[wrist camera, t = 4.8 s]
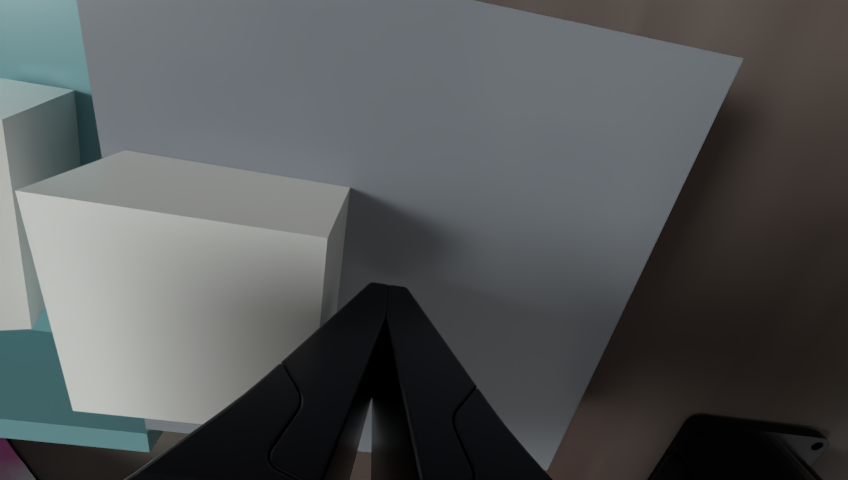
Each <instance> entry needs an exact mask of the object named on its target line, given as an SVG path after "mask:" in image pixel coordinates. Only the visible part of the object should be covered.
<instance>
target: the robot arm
mask: <svg viewBox="0 0 848 480" xmlns="http://www.w3.org/2000/svg"><path fill="white" fill-rule="evenodd" d="M476 388H477V386H476V384H475V383H474V382H473V380H472V379H471V377H470V376H469V375H468V373H467V372H466V370H465V369H464V367H463V366H462V365H461V363H460V362H459V360H458V359H457V358H456V356H455V355H454V353H453V352H452V350H451V349H450V348H449V346H448V345H447V343H446V342H445V341H444V339H443V338H442V336H441V335H440V334H439V332H438V331H437V329H436V328H435V326H434V325H433V324H432V322H431V321H430V319H429V318H428V317H427V315H426V314H425V312H424V311H423V309H422V308H421V307H420V305H419V304H418V302H417V301H416V300H415V298H414V297H413V295H412V294H411V292H410V291H409V290H408V288H406V287H403V286H396V285H387V284H382V283H376V282H371V283H369V284H368V285H367V286H366V287H364V288H363V289H362V290H361V291H360V292H359V293H358V294H357V295H355V296H354V297H353V298H352V299H351V300H350V301H349V302H348V303H347V304H345V305H344V306H343V307H342V308H341V309H340V310H339V311H338V312H336V313H335V314H334V315H333V316H332V317H331V318H330V319H329V320H328V321H326V322H325V323H324V324H323V325H322V326H321V327H320V328H319V329H317V330H316V331H315V332H314V333H313V334H312V335H311V336H310V337H309V338H307V339H306V340H305V341H304V342H303V343H302V344H301V345H300V346H298V347H297V348H296V349H295V350H294V351H293V352H292V353H291V354H290V355H288V356H287V357H286V358H285V359H284V360H283V361H282V362H281V364H278V365H277V366H276V367H275V368H274V369H272V370H271V371H270V372H269V373H268V374H267V375H266V376H265V377H263V378H262V379H261V380H260V381H259V382H257V383H256V384H255V385H254V386H253V387H251V388H250V389H249V390H248V391H247V392H245V393H244V394H243V395H242V396H240V397H239V398H238V399H236V400H235V401H234V402H232V403H231V404H230V405H228V406H227V407H226V408H224V409H223V410H222V411H220V412H219V413H218V414H216V415H215V416H214V417H212V418H211V419H209V420H208V421H206V422H205V423H204V424H202V425H201V426H199V427H198V428H197V429H195V430H194V431H192V432H191V433H190V434H188V435H187V436H185V437H184V438H182V439H181V440H180V441H178V442H177V443H175V444H174V445H173V446H171V447H170V448H168V449H167V450H166V451H164V452H163V453H161V454H160V455H158V456H157V457H156V458H154V459H153V460H151V461H150V462H149V463H147V464H146V465H144V466H143V467H142V468H140V469H139V470H137V471H136V472H134V473H133V474H131V475H130V476H128V477H127V478H125V479H124V480H350V476H351V472H352V469H353V465H354V461H355V458H356V454H357V450H358V446H359V443H360V439H361V435H362V432H363V428H364V424H365V421H366V417H367V413H368V410H369V406H370V402H371V398H372V448H371V480H552V479H551V478H550V476H549V475H548V474H547V473H546V472H545V471H544V470H543V468H542V467H541V466H540V465H539V464H538V463H537V462H536V461H535V459H534V458H533V457H532V456H531V455H530V454H529V453H528V451H527V450H526V449H525V448H524V447H523V445H522V444H521V443H520V442H519V441H518V439H517V438H516V437H515V436H514V435H513V434H512V432H511V431H510V430H509V429H508V428H507V426H506V425H505V424H504V423H503V421H502V420H501V419H500V417H499V416H498V415H497V413H496V412H495V411H494V409H493V408H492V407H491V405H490V404H489V403H488V401H487V400H486V398H485V397H484V395H483V394H482V393H481V391H480V390H479V389H476ZM828 446H829V441H828V440H827V439H826V438H825V437H824V436H823V435H822V434H821V433H820V432H819V431H816V430H808V429H799V428H791V427H783V426H775V425H766V424H758V423H750V422H742V421H733V420H725V419H717V418H709V417H693V418H690V419H689V420H687V421H686V422H685V423H684V425H683V426H682V428H681V429H680V431H679V432H678V434H677V436H676V437H675V439H674V440H673V442H672V443H671V445H670V446H669V448H668V449H667V451H666V452H665V454H664V456H663V457H662V459H661V460H660V462H659V463H658V465H657V466H656V468H655V469H654V471H653V472H652V474H651V476H650V477H649V479H648V480H822V479H821V477H820V476H819V475H818V474H817V473H816V472H815V471H814V470H813V469H812V468H811V467H810V466H811V465H812V464H813V463H814V462H815V461H816V460H817V458H818V457H819V456H820V455H821V454H822V453H823V452H824V451H825V450H826V448H827V447H828Z"/></svg>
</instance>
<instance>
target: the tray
mask: <svg viewBox="0 0 848 480" xmlns="http://www.w3.org/2000/svg"><path fill="white" fill-rule="evenodd" d="M0 78H4V79H10V80H16V81H22V82H28V83H34V84H40V85H46V86H53V87H59V88H65V89H71V90H75V99H76V112H77V125H78V138H79V151H80V164H81V166H84V165H86V164H89V163H92V162H95V161H97V160H100V159H102V155H101V149H100V143H99V136H98V130H97V124H96V118H95V112H94V106H93V100H92V93H91V87H90V81H89V75H88V69H87V63H86V56H85V50H84V44H83V38H82V32H81V26H80V19H79V13H78V7H77V1H76V0H0ZM162 433H163V431H160V430H150V429H146V426H145V420H144V418H137V417H127V416H117V415H108V414H98V413H89V412H79V411H73V410H72V406H71V402H70V398H69V394H68V391H67V387H66V383H65V379H64V375H63V372H62V368H61V364H60V360H59V356H58V353H57V349H56V345H55V341H54V337H53V334H52V330H51V326H50V322H49V318H48V314H47V311H46V307H45V309H44V310H43V312H42V313H41V315H40V316H39V318H38V320H37V321H36V323H35V324H34V326H33V328H32V329H22V330H2V331H0V438H9V439H19V440H29V441H39V442H49V443H60V444H70V445H80V446H90V447H100V448H110V449H121V450H131V451H141V452H150V451H151V450H152V448H153V447H154V445H155V444H156V442H157V440H158V439H159V437H160V436H161V434H162Z"/></svg>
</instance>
